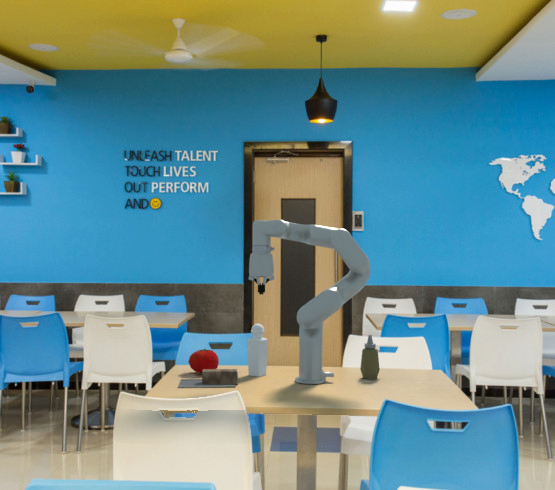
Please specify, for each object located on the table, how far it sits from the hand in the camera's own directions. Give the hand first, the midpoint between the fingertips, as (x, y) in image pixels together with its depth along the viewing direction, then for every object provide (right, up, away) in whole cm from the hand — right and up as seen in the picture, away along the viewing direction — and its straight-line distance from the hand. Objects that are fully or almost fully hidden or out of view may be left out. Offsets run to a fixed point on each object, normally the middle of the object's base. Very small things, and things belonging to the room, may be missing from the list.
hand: (261, 294), depth 242 cm
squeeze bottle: (+46, -36, +4) cm, 58 cm away
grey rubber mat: (-21, -35, -11) cm, 42 cm away
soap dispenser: (-2, -36, +8) cm, 36 cm away
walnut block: (-9, -32, -10) cm, 34 cm away
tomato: (-25, -36, +11) cm, 45 cm away
